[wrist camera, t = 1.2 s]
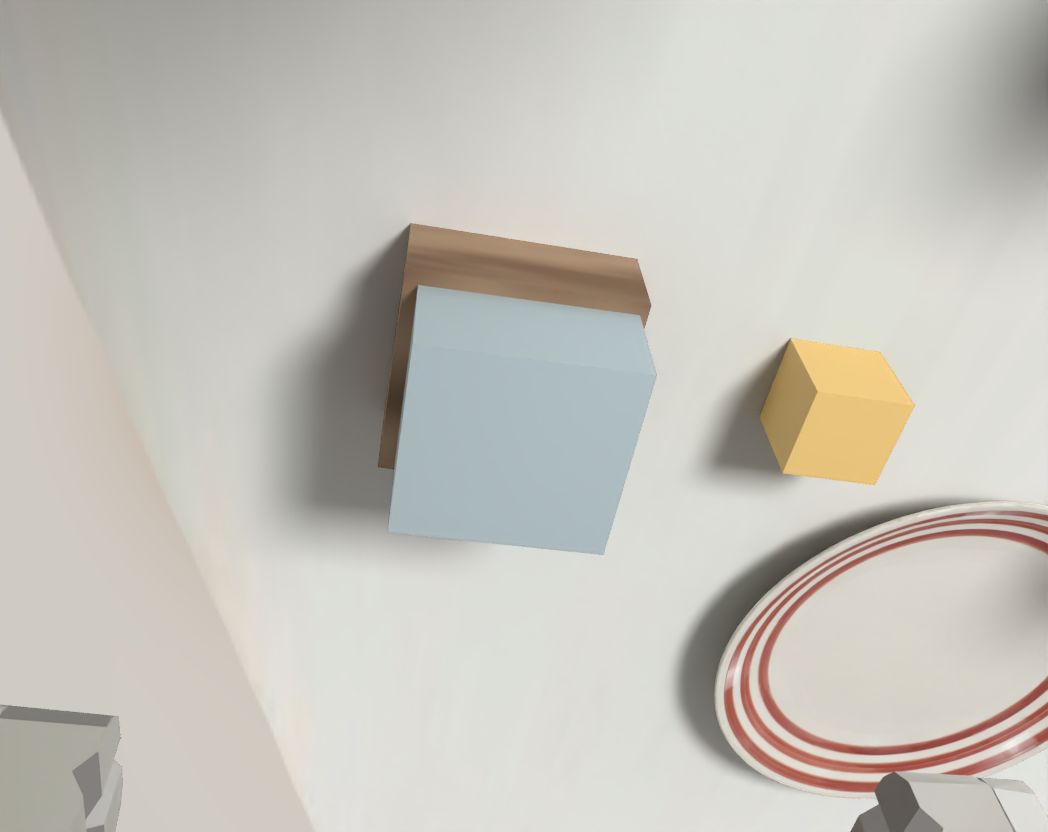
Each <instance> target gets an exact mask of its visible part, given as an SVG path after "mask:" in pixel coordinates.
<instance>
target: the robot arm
mask: <svg viewBox="0 0 1048 832" xmlns="http://www.w3.org/2000/svg"><path fill="white" fill-rule="evenodd" d="M120 738H121V737H120V726H119V717H118V716H109V715H100V714H90V713H80V712H79V713H78V712H69V711H59V710H49V709H39V708H28V707H17V706H9V705H0V832H115V831H116V826H117V821H118V816H119V811H120V806H121V796H122V785H123V781H122V780H123V778H122V766H121V765H120V764H118V763H117V762H116V761H115V760H114V757H115V754H116V751H117V747H118V744H119V741H120ZM874 792H875V795H876V797H877V800H878V803H879V805H877V806H875V807H873V808H872V809H870V810H868V811H866V812H865V813H863V814H861V815H859V817H858V818H857V820H856V822H855V824H854V826H853V828H852V830H851V832H1048V816H1047V814H1046V813H1045V811H1044V809H1043V807H1042V805H1041V803H1040V802H1039V800H1038V798H1037V796H1036V794H1035V793H1034V792H1033V790H1032V789H1031V788H1030V787H1028V786H1027V785H1026V784H1025V783H1024V782H1023V781H1018V780H1010V779H993V778H975V777H973V776H966V775H949V774H931V773H914V772H896V771H894V772H892V773H890V774H888V775H886V776H884V777H883V778H882V779H881V781H880V782H879V784H878V786H877V787H876V789H875V790H874Z"/></svg>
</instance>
